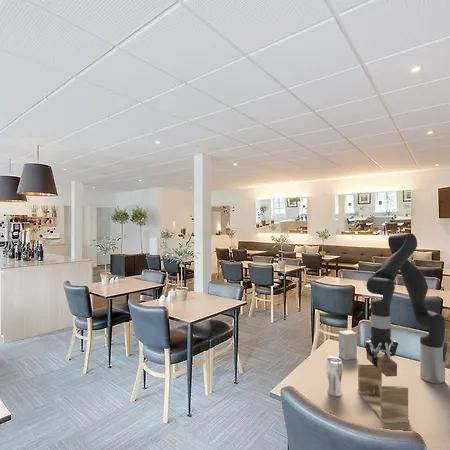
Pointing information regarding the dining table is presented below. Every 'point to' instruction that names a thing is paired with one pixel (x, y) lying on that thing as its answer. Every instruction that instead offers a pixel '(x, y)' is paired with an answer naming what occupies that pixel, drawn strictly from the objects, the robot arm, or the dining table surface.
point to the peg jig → (382, 395)
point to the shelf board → (384, 364)
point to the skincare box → (347, 344)
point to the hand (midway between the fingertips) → (380, 365)
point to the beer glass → (334, 375)
